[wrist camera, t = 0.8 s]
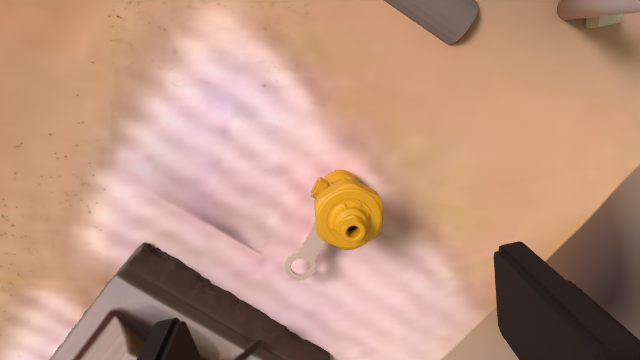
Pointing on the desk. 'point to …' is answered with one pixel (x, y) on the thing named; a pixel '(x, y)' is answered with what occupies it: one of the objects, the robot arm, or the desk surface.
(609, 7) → the peg rack
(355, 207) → the pressure relief valve
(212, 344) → the bible
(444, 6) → the half round rod
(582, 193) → the desk surface
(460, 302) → the desk surface
